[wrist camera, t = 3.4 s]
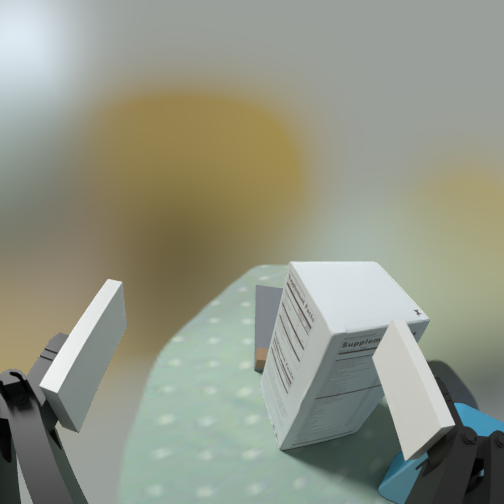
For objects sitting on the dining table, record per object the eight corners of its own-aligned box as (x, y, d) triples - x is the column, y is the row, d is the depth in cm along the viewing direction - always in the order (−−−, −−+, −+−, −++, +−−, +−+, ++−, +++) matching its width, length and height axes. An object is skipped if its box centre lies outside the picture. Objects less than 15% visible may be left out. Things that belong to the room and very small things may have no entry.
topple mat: (374, 376, 36) (380, 366, 35) (254, 370, 35) (257, 359, 34) (346, 298, 52) (349, 288, 51) (256, 287, 51) (257, 277, 50)
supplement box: (329, 375, 36) (378, 259, 28) (358, 433, 28) (435, 318, 20) (256, 384, 33) (287, 257, 26) (277, 452, 25) (333, 333, 18)
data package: (466, 495, 18) (540, 438, 13) (455, 527, 15) (539, 476, 9) (388, 461, 24) (451, 396, 19) (371, 492, 21) (441, 435, 16)
